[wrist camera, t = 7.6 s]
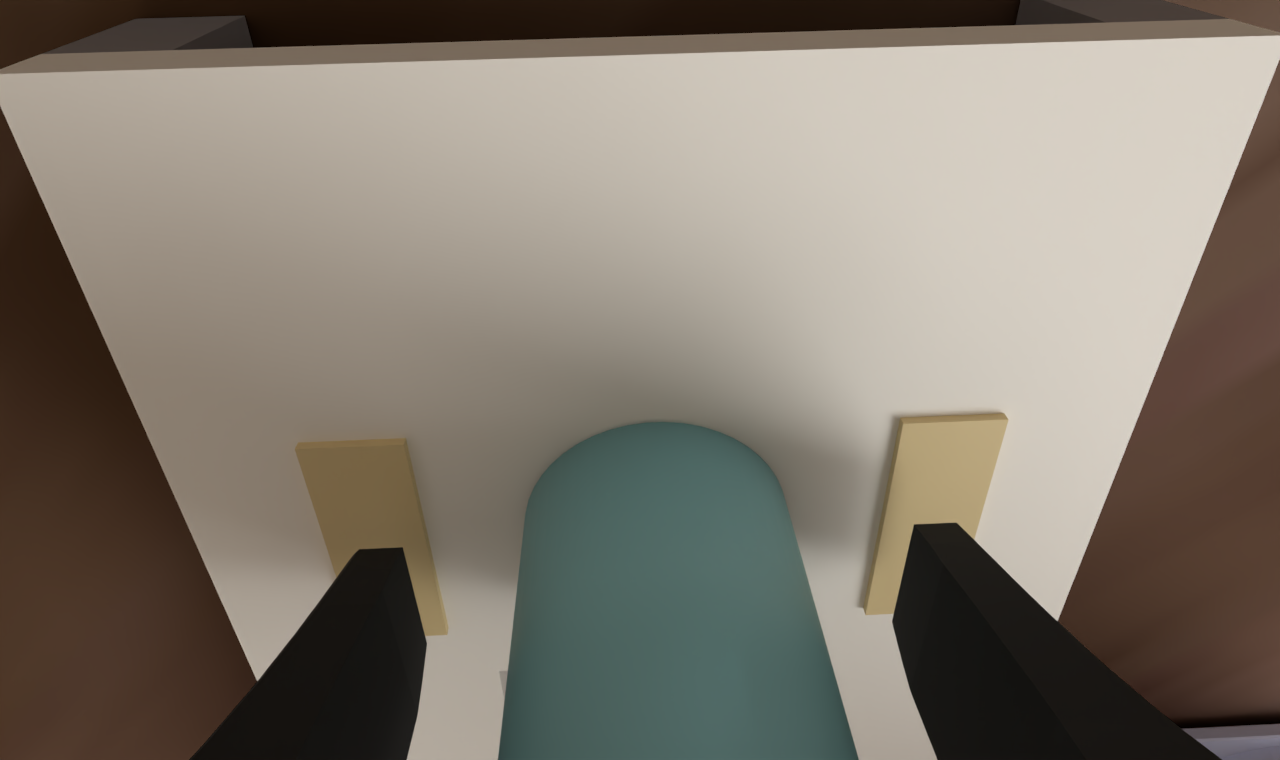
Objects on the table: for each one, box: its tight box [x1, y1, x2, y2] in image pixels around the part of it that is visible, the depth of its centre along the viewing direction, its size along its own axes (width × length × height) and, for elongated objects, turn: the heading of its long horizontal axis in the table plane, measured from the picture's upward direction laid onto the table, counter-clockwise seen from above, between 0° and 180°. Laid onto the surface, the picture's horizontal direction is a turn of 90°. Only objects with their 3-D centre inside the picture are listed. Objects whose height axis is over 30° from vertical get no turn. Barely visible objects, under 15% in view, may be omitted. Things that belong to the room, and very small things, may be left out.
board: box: [0, 0, 1280, 760], centre depth 16 cm, size 20×14×3 cm
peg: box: [498, 422, 859, 760], centre depth 11 cm, size 4×4×9 cm
